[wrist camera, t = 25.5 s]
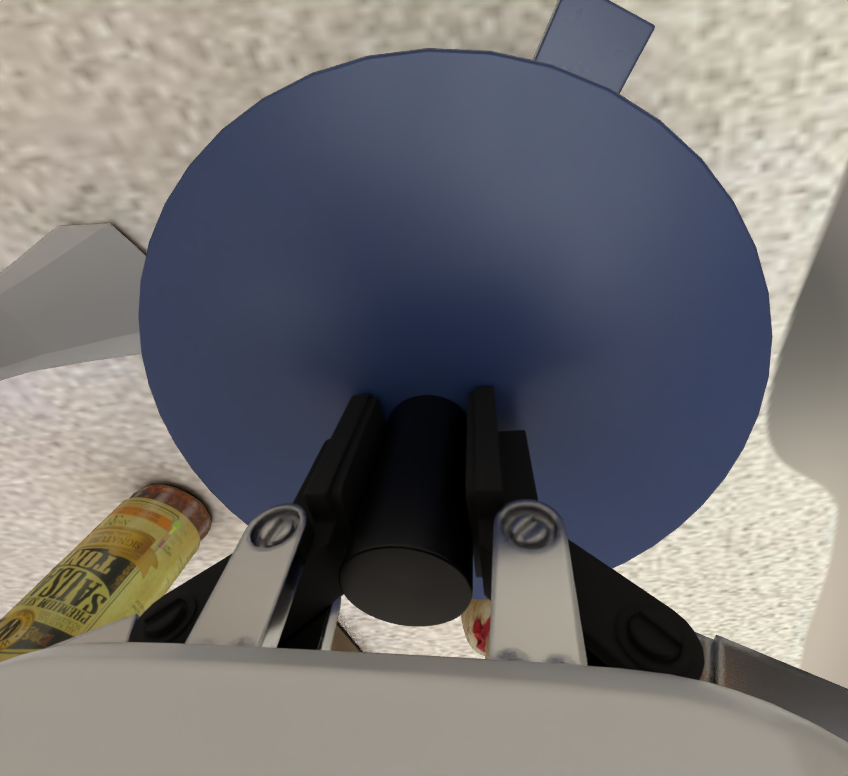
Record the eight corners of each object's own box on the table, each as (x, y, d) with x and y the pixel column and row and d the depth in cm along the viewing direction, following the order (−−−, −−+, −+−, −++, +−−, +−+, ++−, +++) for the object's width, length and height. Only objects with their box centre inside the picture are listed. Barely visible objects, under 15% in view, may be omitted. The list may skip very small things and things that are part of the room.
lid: (160, 487, 16) (10, 648, 11) (178, -118, 7) (-633, -863, 2) (534, 617, 18) (559, 807, 13) (924, 265, 9) (1550, 421, 4)
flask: (117, 366, 24) (-83, 487, 15) (17, 251, 20) (-308, 321, 12) (208, 330, 22) (38, 444, 13) (114, 195, 18) (-194, 232, 10)
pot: (255, 416, 25) (194, 491, 19) (349, -60, 13) (263, -209, 8) (492, 503, 26) (497, 595, 21) (754, 152, 15) (914, 152, 10)
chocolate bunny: (555, 592, 31) (586, 760, 22) (478, 622, 34) (481, 778, 26) (511, 556, 29) (527, 723, 20) (435, 591, 32) (422, 747, 24)
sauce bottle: (197, 478, 28) (-216, 968, 11) (227, 535, 31) (-59, 983, 14) (117, 478, 29) (-375, 930, 12) (155, 533, 32) (-194, 952, 15)
